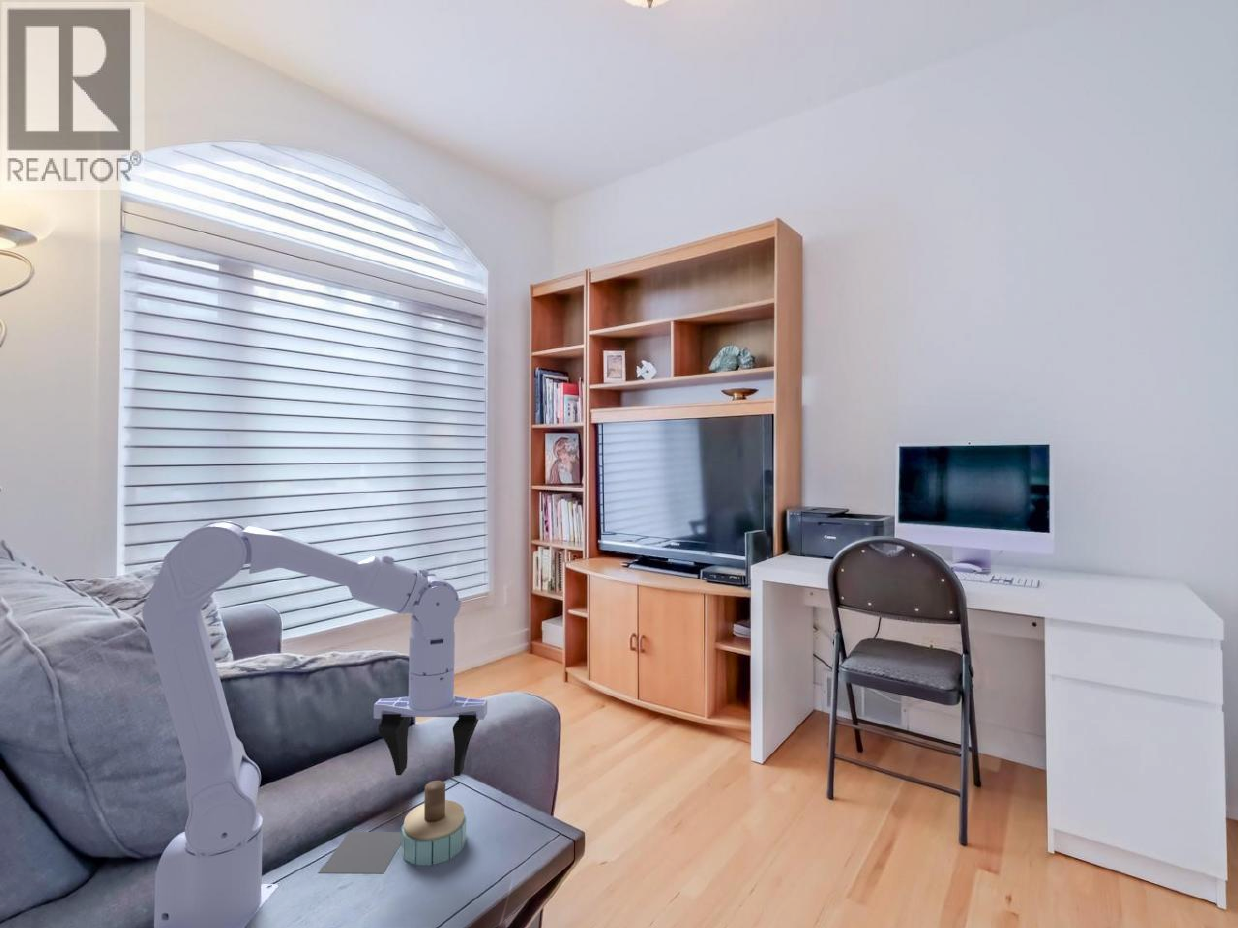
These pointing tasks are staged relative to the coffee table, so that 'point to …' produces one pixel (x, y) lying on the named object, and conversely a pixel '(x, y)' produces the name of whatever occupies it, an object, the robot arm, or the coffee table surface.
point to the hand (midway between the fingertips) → (430, 771)
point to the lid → (434, 815)
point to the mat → (363, 853)
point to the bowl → (433, 847)
